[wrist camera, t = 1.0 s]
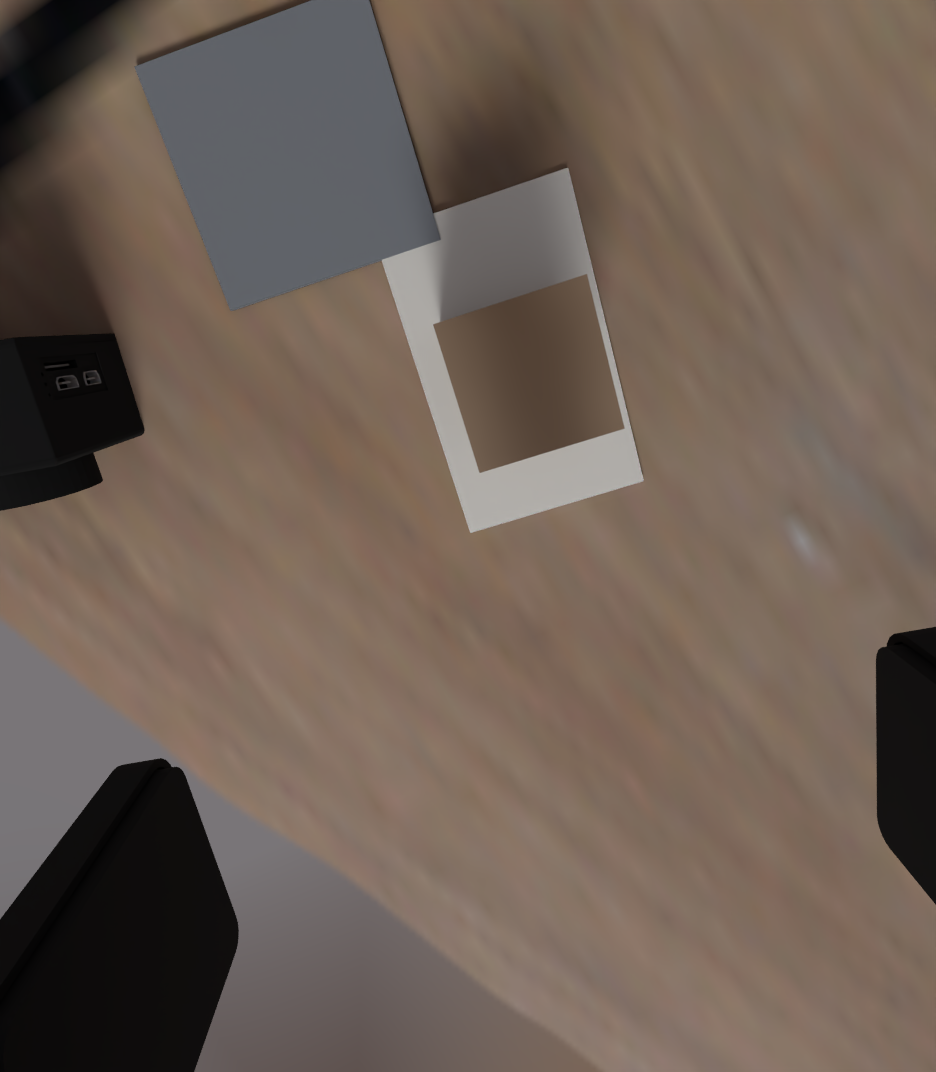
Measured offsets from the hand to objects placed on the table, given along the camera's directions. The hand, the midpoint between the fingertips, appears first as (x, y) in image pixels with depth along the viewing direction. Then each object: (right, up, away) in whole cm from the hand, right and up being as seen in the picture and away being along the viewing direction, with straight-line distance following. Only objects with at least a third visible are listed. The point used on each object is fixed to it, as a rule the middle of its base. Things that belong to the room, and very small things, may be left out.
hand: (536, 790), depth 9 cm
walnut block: (+1, +11, +20) cm, 22 cm away
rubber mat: (-8, +18, +18) cm, 26 cm away
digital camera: (-20, +8, +21) cm, 30 cm away
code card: (+1, +11, +20) cm, 23 cm away
